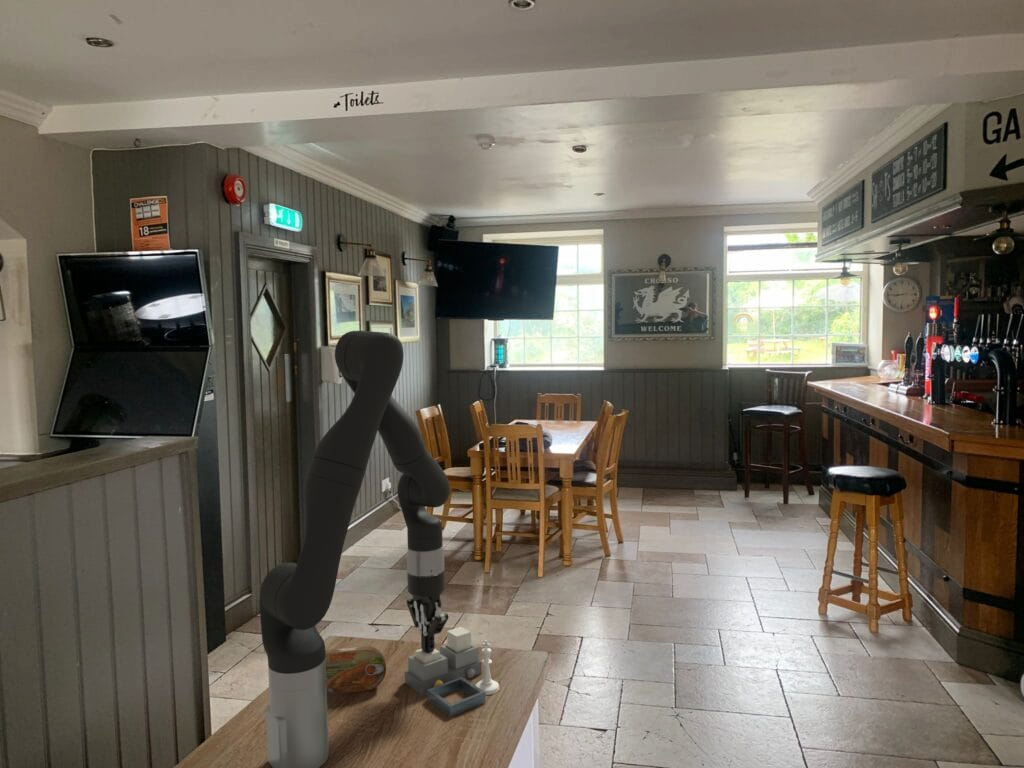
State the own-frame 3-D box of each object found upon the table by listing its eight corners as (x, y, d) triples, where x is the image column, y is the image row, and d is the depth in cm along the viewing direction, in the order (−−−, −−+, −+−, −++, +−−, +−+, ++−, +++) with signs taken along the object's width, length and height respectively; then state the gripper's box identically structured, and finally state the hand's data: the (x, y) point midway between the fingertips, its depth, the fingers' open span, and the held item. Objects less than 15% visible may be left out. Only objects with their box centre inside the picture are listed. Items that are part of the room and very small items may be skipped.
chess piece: (496, 696, 141) (495, 646, 140) (472, 693, 142) (471, 645, 141) (501, 683, 145) (500, 636, 145) (478, 681, 146) (477, 634, 146)
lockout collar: (450, 717, 133) (450, 706, 133) (427, 699, 139) (426, 689, 139) (485, 702, 138) (485, 692, 138) (461, 686, 145) (461, 676, 144)
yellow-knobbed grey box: (424, 697, 140) (424, 670, 140) (404, 682, 146) (404, 656, 146) (483, 674, 149) (483, 649, 149) (462, 661, 155) (462, 637, 155)
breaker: (456, 652, 148) (456, 636, 148) (447, 646, 151) (447, 631, 150) (471, 647, 150) (470, 631, 150) (461, 641, 153) (461, 626, 153)
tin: (309, 696, 141) (308, 655, 141) (311, 688, 145) (310, 648, 144) (386, 689, 144) (385, 649, 143) (386, 682, 147) (385, 642, 146)
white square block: (424, 673, 143) (424, 656, 143) (415, 666, 146) (415, 650, 146) (440, 667, 145) (439, 651, 145) (430, 661, 148) (430, 645, 148)
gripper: (393, 564, 147) (395, 645, 148) (427, 581, 137) (429, 668, 138) (424, 556, 152) (426, 635, 153) (459, 572, 141) (461, 656, 143)
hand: (428, 650), depth 145 cm, fingers closed
